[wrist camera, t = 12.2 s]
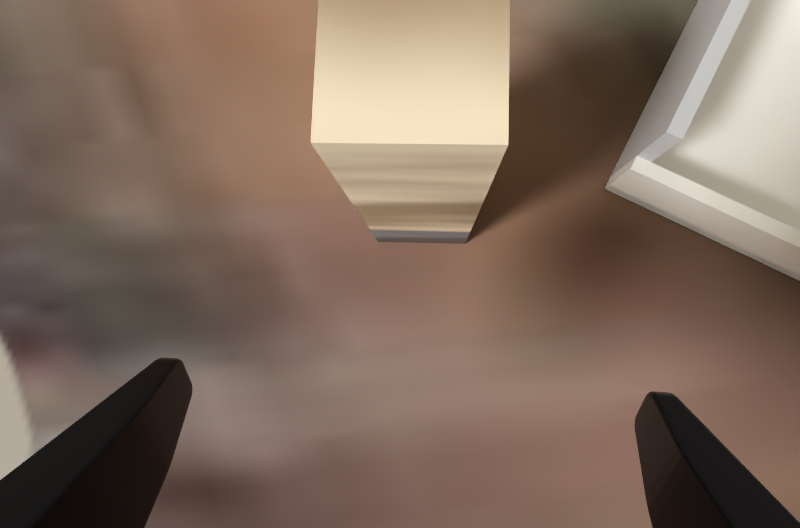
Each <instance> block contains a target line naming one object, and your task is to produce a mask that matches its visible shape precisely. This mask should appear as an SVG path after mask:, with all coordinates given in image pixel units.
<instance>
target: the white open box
mask: <svg viewBox="0 0 800 528" xmlns="http://www.w3.org/2000/svg"><path fill="white" fill-rule="evenodd" d="M604 189H606V190H608V191H610V192H612V193H615V194H617V195H619V196H621V197H623V198H625V199H627V200H629V201H631V202H634V203H636V204H638V205H640V206H642V207H644V208H646V209H648V210H650V211H653V212H655V213H657V214H659V215H661V216H663V217H665V218H667V219H670V220H672V221H674V222H676V223H678V224H680V225H682V226H684V227H686V228H689V229H691V230H693V231H695V232H697V233H699V234H701V235H703V236H705V237H708V238H710V239H712V240H714V241H716V242H718V243H720V244H722V245H724V246H727V247H729V248H731V249H733V250H735V251H737V252H739V253H741V254H743V255H746V256H748V257H750V258H752V259H754V260H756V261H758V262H760V263H762V264H765V265H767V266H769V267H771V268H773V269H775V270H777V271H779V272H781V273H784V274H786V275H788V276H790V277H792V278H794V279H796V280H798V281H800V0H698V2H697V4H696V6H695V8H694V10H693V12H692V14H691V16H690V18H689V20H688V22H687V24H686V26H685V28H684V30H683V32H682V34H681V36H680V38H679V40H678V42H677V44H676V46H675V48H674V50H673V52H672V54H671V56H670V58H669V60H668V62H667V64H666V66H665V68H664V70H663V72H662V74H661V76H660V78H659V80H658V82H657V84H656V86H655V88H654V90H653V92H652V94H651V96H650V98H649V100H648V102H647V104H646V106H645V108H644V110H643V112H642V114H641V116H640V118H639V120H638V122H637V124H636V126H635V128H634V130H633V132H632V134H631V136H630V138H629V140H628V142H627V144H626V146H625V148H624V150H623V152H622V154H621V156H620V158H619V160H618V162H617V164H616V166H615V168H614V170H613V172H612V174H611V176H610V178H609V180H608V182H607V184H606V186H605V188H604Z"/></svg>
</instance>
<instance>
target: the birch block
mask: <svg viewBox="0 0 800 528" xmlns="http://www.w3.org/2000/svg"><path fill="white" fill-rule="evenodd" d="M509 40H510V0H318V18H317V36H316V54H315V73H314V91H313V109H312V127H311V144H312V146H313V147H314V148H315V150H316V151H317V153H318V154H319V156H320V157H321V159H322V160H323V162H324V163H325V165H326V166H327V167H328V169H329V170H330V172H331V173H332V175H333V176H334V178H335V179H336V181H337V182H338V184H339V185H340V186H341V188H342V189H343V191H344V192H345V194H346V195H347V197H348V198H349V200H350V201H351V202H352V204H353V205H354V207H355V208H356V210H357V211H358V213H359V214H360V216H361V217H362V219H363V220H364V221H365V223H366V224H367V226H368V227H369V229H370V230H371V232H372V233H373V235H374V236H375V237H376V239H377V240H378V242H419V243H461V244H465V243H466V241H467V238H468V236H469V234H470V231H471V229H472V227H473V225H474V222H475V220H476V218H477V215H478V213H479V211H480V209H481V206H482V204H483V202H484V200H485V197H486V195H487V193H488V190H489V188H490V186H491V184H492V181H493V179H494V177H495V174H496V172H497V170H498V168H499V165H500V163H501V161H502V158H503V156H504V154H505V152H506V149H507V147H508V135H509Z"/></svg>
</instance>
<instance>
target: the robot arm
mask: <svg viewBox="0 0 800 528" xmlns="http://www.w3.org/2000/svg"><path fill="white" fill-rule="evenodd" d="M191 396H192V383H191V381H190V378H189V376H188V374H187V371H186V369H185V366H184V364H183V362H182V361H181V360H180V359H175V358H159V359H157V360H155V361H154V362H153V363H151V364H150V365H149V366H148V367H146V368H145V369H144V370H142V371H141V372H140V373H139V374H137V375H136V376H135V377H133V378H132V379H131V380H129V381H128V382H127V383H126V384H124V385H123V386H122V387H120V388H119V389H118V390H116V391H115V392H114V393H113V394H111V395H110V396H109V397H107V398H106V399H105V400H104V401H102V402H101V403H100V404H98V405H97V406H96V407H94V408H93V409H92V410H91V411H89V412H88V413H87V414H85V415H84V416H83V417H82V418H80V419H79V420H78V421H76V422H75V423H74V424H72V425H71V426H70V427H69V428H67V429H66V430H65V431H63V432H62V433H61V434H60V435H58V436H57V437H56V438H54V439H53V440H52V441H50V442H49V443H48V444H47V445H45V446H44V447H43V448H41V449H40V450H39V451H38V452H36V453H35V454H34V455H32V456H31V457H30V458H28V459H27V460H26V461H25V462H23V463H22V464H21V465H19V466H18V467H17V468H16V469H14V470H13V471H12V472H10V473H9V474H8V475H6V476H5V477H4V478H3V479H1V480H0V528H144V527H145V525H146V522H147V520H148V518H149V515H150V513H151V511H152V508H153V506H154V504H155V501H156V499H157V497H158V494H159V492H160V489H161V487H162V485H163V482H164V480H165V478H166V475H167V472H168V470H169V467H170V464H171V461H172V458H173V455H174V452H175V449H176V445H177V442H178V439H179V436H180V432H181V429H182V426H183V422H184V419H185V416H186V413H187V409H188V406H189V403H190V399H191ZM635 433H636V439H637V445H638V452H639V458H640V464H641V470H642V477H643V483H644V489H645V495H646V501H647V506H648V511H649V515H650V519H651V523H652V526H653V528H800V523H799V522H798V521H797V520H796V519H795V518H794V517H793V516H792V515H791V514H790V513H789V511H788V510H787V509H786V508H785V507H784V506H783V505H782V504H781V503H780V502H779V501H778V500H777V499H776V498H775V497H774V496H773V495H772V494H771V493H770V492H769V491H768V490H767V489H766V488H765V487H764V486H763V485H762V484H761V483H760V482H759V481H758V480H757V479H756V478H755V477H754V476H753V475H752V473H751V472H750V471H749V470H748V469H747V468H746V467H745V466H744V465H743V464H742V463H741V462H740V461H739V460H738V459H737V458H736V457H735V456H734V455H733V454H732V453H731V452H730V451H729V450H728V449H727V448H726V447H725V446H724V445H723V444H722V443H721V442H720V441H719V440H718V439H717V438H716V437H715V435H714V434H713V433H712V432H711V431H710V430H709V429H708V428H707V427H706V426H705V425H704V424H703V423H702V422H701V421H700V420H699V419H698V418H697V417H696V416H695V415H694V414H693V413H692V412H691V411H690V410H689V409H688V408H687V407H686V406H685V405H684V404H683V403H682V402H681V401H680V400H679V399H678V398H677V397H676V396H675V395H674V394H672V393H667V392H649V393H648V394H647V395H646V397H645V399H644V401H643V403H642V405H641V407H640V409H639V411H638V413H637V415H636V418H635Z"/></svg>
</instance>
